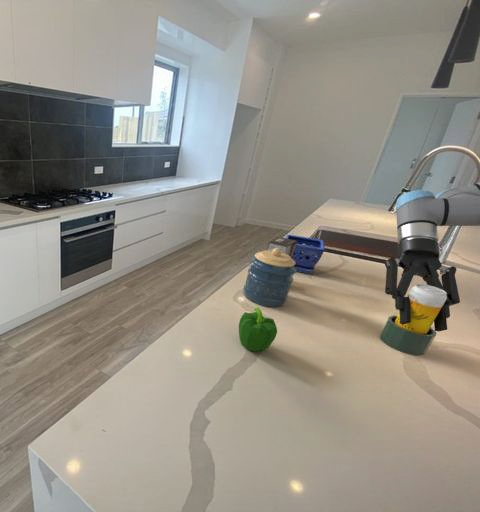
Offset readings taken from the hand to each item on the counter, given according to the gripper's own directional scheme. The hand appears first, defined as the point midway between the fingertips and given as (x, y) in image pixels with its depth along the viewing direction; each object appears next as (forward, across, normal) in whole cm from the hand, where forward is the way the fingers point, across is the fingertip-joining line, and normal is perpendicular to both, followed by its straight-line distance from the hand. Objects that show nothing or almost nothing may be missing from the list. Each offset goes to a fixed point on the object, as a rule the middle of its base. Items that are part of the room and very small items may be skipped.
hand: (422, 326), depth 73 cm
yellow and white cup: (+2, 0, -7) cm, 7 cm away
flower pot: (-28, +17, -40) cm, 52 cm away
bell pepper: (+16, +37, +4) cm, 41 cm away
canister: (-4, +32, -16) cm, 36 cm away
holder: (+3, 0, -8) cm, 9 cm away
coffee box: (-15, +28, -27) cm, 42 cm away
